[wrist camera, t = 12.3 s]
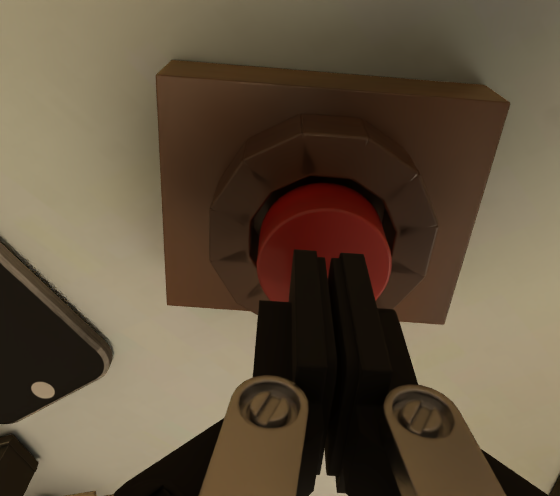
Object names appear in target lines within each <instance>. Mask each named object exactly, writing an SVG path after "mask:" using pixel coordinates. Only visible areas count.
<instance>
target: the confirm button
mask: <svg viewBox="0 0 560 496" xmlns="http://www.w3.org/2000/svg"><path fill="white" fill-rule="evenodd" d="M294 249H298V250H312V251H317V257H325V261H326V269H327V278H328V275H329V268H330V261H331V258H339V255H340V253H355V254H364V257H365V261H366V265H367V269H368V273H369V277H370V281H371V285H372V289H373V293H374V297H375V301H376V300H377V299H378V297H379V296H380V295H381V294H382V292H383V290H384V289H385V287H386V285H387V283H388V281H389V277H390V274H391V268H392V257H391V251H390V248H389V245H388V242H387V239H386V236H385V233H384V229H383V226H382V223H381V220H380V218H379V215H378V213H377V211H376V209H375V208H374V207H373V205H372V204H371V203H370V202H369V201H368V200H367V199H366V198H365V197H364V196H362V195H361V194H360V193H358V192H356V191H355V190H353V189H351V188H348V187H346V186H343V185H339V184H334V183H312V184H307V185H303V186H300V187H297V188H295V189H293V190H291V191H289V192H287V193H286V194H284V195H283V196H281V197H280V198H279V199H278V200H277V201H276V202H275V203H274V204H273V205H272V206H271V207H270V209H269V210H268V212H267V213H266V215H265V217H264V219H263V222H262V225H261V229H260V237H259V246H258V255H257V275H258V280H259V283H260V285H261V287H262V289H263V291H264V293H265V294H266V296H267V297H268V298H269V299H270V301H280V302H288V301H289V291H290V281H291V271H292V261H293V252H294Z"/></svg>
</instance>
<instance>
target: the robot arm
mask: <svg viewBox="0 0 560 496" xmlns="http://www.w3.org/2000/svg"><path fill="white" fill-rule="evenodd" d="M324 448H325V461H326V473H327V475H329V476H336V487H337V493H346V494H347V495H348V496H548V495H547V494H546V493H544V492H543V491H541V490H540V489H538V488H537V487H535V486H534V485H532V484H531V483H530V482H528V481H527V480H525V479H524V478H522V477H521V476H519V475H518V474H516V473H515V472H514V471H512V470H511V469H509V468H508V467H506V466H505V465H503V464H502V463H500V462H499V461H498V460H496V459H495V458H493V457H492V456H490V455H489V454H487V453H486V452H484V451H483V450H482V449H480V447H479V445H478V444H477V442H476V440H475V438H474V436H473V435H472V433H471V431H470V429H469V427H468V426H467V424H466V422H465V420H464V418H463V417H462V415H461V413H460V411H459V410H458V408H457V407H456V406H455V404H454V403H453V402H452V401H451V400H450V399H448V398H447V397H446V396H445V395H444V394H442V393H440V392H438V391H436V390H434V389H432V388H429V387H425V386H422V385H418V383H417V379H416V376H415V373H414V369H413V366H412V363H411V359H410V356H409V353H408V349H407V346H406V343H405V339H404V336H403V333H402V329H401V326H400V323H399V319H398V316H397V313H396V311H395V310H394V309H384V308H377V305H376V301H375V297H374V293H373V289H372V285H371V281H370V277H369V273H368V269H367V265H366V261H365V257H364V254H355V253H340V255H339V258H331V261H330V268H329V275H328V278H327V269H326V261H325V257H317V251H312V250H298V249H294V252H293V261H292V271H291V281H290V291H289V301H288V302H280V301H265V300H259V310H258V322H257V334H256V346H255V358H254V370H253V378H251V379H248V380H246V381H244V382H243V383H242V384H240V385H239V386H238V387H237V388H236V390H235V391H234V393H233V395H232V397H231V400H230V403H229V406H228V409H227V412H226V415H225V418H223V419H222V420H220V421H219V422H217V423H216V424H214V425H213V426H211V427H210V428H208V429H207V430H205V431H204V432H202V433H201V434H199V435H198V436H196V437H194V438H193V439H191V440H190V441H188V442H187V443H185V444H184V445H182V446H181V447H179V448H178V449H176V450H175V451H173V452H172V453H170V454H169V455H167V456H166V457H164V458H162V459H161V460H159V461H158V462H156V463H155V464H153V465H152V466H150V467H149V468H147V469H146V470H144V471H143V472H141V473H140V474H138V475H137V476H135V477H134V478H132V479H131V480H129V481H127V482H126V483H125V484H124V485H123V486H122V487H120V488H119V489H118V490H117V491H116V492H115V493H114V494H112V495H106V496H309V495H310V494H311V493H312V492H313V491H314V485H315V479H316V475H319V474H320V471H321V465H322V459H323V454H324ZM65 496H97V494H96V491H91V492H84V493H78V494H72V495H65Z"/></svg>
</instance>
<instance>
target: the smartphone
mask: <svg viewBox="0 0 560 496" xmlns="http://www.w3.org/2000/svg"><path fill="white" fill-rule="evenodd" d="M111 362H112V351H111V349H110V347H109V345H108V344H107V343H106V341H105V340H104V339H102V338H101V337H100V336H99V335H98V334H97V333H96V332H95V331H94V330H93V329H92V328H91V327H90V326H89V325H88V324H87V323H85V322H84V321H83V320H82V319H81V318H80V317H79V316H78V315H77V314H76V313H75V312H74V311H73V310H72V309H71V308H70V307H68V306H67V305H66V304H65V303H64V302H63V301H62V300H61V299H60V298H59V297H58V296H57V295H56V294H55V293H54V292H53V291H51V290H50V289H49V288H48V287H47V286H46V285H45V284H44V283H43V282H42V281H41V280H40V279H39V278H38V277H37V276H36V275H34V274H33V273H32V272H31V271H30V270H29V269H28V268H27V267H26V266H25V265H24V264H23V263H22V262H21V261H20V260H19V259H17V258H16V257H15V256H14V255H13V254H12V253H11V252H10V251H9V250H8V249H7V248H6V247H5V246H4V245H3V244H2V243H1V242H0V424H11V423H15V422H18V421H20V420H22V419H24V418H26V417H28V416H30V415H32V414H34V413H36V412H37V411H39V410H41V409H43V408H45V407H47V406H49V405H51V404H53V403H54V402H56V401H58V400H60V399H62V398H64V397H66V396H68V395H70V394H71V393H73V392H75V391H77V390H79V389H81V388H83V387H85V386H87V385H88V384H90V383H92V382H94V381H96V380H98V379H100V378H101V377H103V376H104V375H105V374H106V373H107V371H108V369H109V367H110V364H111Z"/></svg>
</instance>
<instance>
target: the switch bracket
mask: <svg viewBox="0 0 560 496" xmlns="http://www.w3.org/2000/svg"><path fill="white" fill-rule="evenodd" d="M549 496H560V477H559V479H558V481H557V483H556V484H555V486H554V488H553V490H552V492H551V493H550V495H549Z"/></svg>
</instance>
